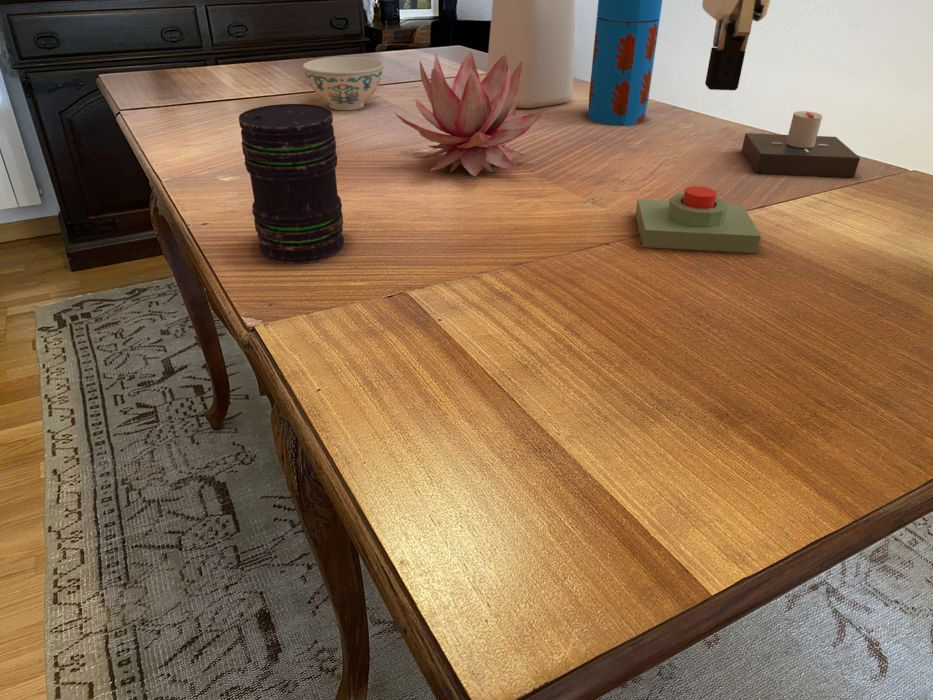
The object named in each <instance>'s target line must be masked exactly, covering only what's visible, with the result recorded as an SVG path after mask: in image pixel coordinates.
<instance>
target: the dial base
mask: <svg viewBox="0 0 933 700" xmlns="http://www.w3.org/2000/svg"><path fill="white" fill-rule="evenodd" d="M787 138H788V134H776V133H775V134H774V133H754V132H753V133H750V132H748V133H747V132H746V133H745V134H744V137H743V143H742V147H741V153H742V155H743V157H745V159H746V161H748V163H749V165H750V166H751V167H752V169H753V170H754V172H755V173H756V174H765V175H784V176H785V175H787V176H806V177H807V176H809V177H810V176H811V177H828V178H829V177H830V178H831V177H832V178H855V176H856V173H857V169H858V166H859V163H860V160H861V157H860V156H859V155H857V154H856V153H855V151H853V150H852V149H851V148H849V146H847V145H846V144H845V143H844V142H843V141H842V140H841V139H839V138H838V137H837V136H828V135H827V136H824V135H817V138H816V142H815V145H814V147H812V148H797V147H793V146H790V145H788V144H787V143H786V142H787Z"/></svg>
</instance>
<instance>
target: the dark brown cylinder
mask: <svg viewBox="0 0 933 700" xmlns="http://www.w3.org/2000/svg"><path fill="white" fill-rule="evenodd" d="M333 121H334V119H333V111H332V110H330V109H329V108H327V107H324V106H320V105H315V104H308V103H279V104H270V105H263V106H258V107H254V108H251V109H248V110H245V111H243V112H241V113H240V114H239V116H238V123H239V127H240V128H241V130H240V136H241V148H242V154H243V156H244V165H245V169H246V171H247V173H248V174H249V176H250V177H249V178H250V182H251V190H252V195H253V202H252V213H251V214H252V215H253V218H254V219H253V223H254V228H255V232H256V233H257V238H258V241H259V251H260V253H261V256H263V257H264V258H265V259H267V260H269V261H272V262H276V263H281V264H289V265H291V264H292V265H298V264H299V265H300V264H301V265H302V264H311V263H315V262H320V261H323V260H326V259H329V258H331V257H333V256H335V255H338V253H340V252H341V251H342V249H343V248H344V246H345V239H344V235H343V232H344V229H343V228H344V227H343V225H344V216H343V211H342V208H343V204H342V199H341V197H340V196H339V194H338V185H337V184H338V183H337V173H336V167H337V165H338V155H337V150H336V149H337V139H336V136H335V129H334V126H333V125H334V124H333Z"/></svg>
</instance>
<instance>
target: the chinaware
mask: <svg viewBox="0 0 933 700" xmlns="http://www.w3.org/2000/svg"><path fill="white" fill-rule="evenodd" d="M302 68H303V70H304V74H305V78H306V79H307V81H308V83H309V85H310V87H311V88H312V90H313V91H314V92H315V93H316V95H318V96H319V97H320V98H321V99H322V100H324V101H325V102H327V103H328V105H329V106H328V107H329V108H330V109H332V110H337V111H354V110H359V109H362V108H364V106H365V101H367V100H368V99H369V98H370V97H371V96H373V94H374V93H375V92H376V90H377V88H378V87H379V85H380V82H381V79H382V76H383V71H384V63H383V62H382V61H381V60H378V59H375V58H370V57H361V56H333V57H324V58H323V57H322V58H318V59H311V60H309V61H306V62H304V63H303V65H302Z"/></svg>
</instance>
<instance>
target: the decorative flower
mask: <svg viewBox="0 0 933 700" xmlns="http://www.w3.org/2000/svg"><path fill="white" fill-rule="evenodd" d="M433 63H434V64H433V68H432V69H431V74H430V79H429V77H428V76H427V73H426V71H425V69H424V66H423V64H422V62H421V61H420V60H419V71H420V80H421V83H422V85H423V88H424V91H425V94H426V96H427V98H428V101H429V103H430V105H431V110H430V109H428V108H427V107H426V106H425V105H423V104H422V103H421V102H420V101H419V100H418V99H417V98H413V99H414V102H415V105H416V107H417V109H418V111H419V113H420V114H421V115H422V116H423V118H424V119H425V120H426V121H427V122H429V123H430V124H431V125H432V126H433V127H435V128H436V129H438V130H439V131H441V132H443V133H441V132H437V131H433V130H430V129H427V128H424V127H422V126H420V125H417V124H415V123H414V122H411V121H408V120H407V119H405V118H403V117H402V116H400V115H399V114H398V113H396V112H394V115H395V116H397V117H398V119H399V120H401V122H402V123H403V124H405V125H407V126H408V127H410V128H413V129H414V130H416V131H418V133H419V135H420V137H422V138H424V139H426V140H427V141H430V142H432V143H437V144H436V145H430V144H427V147H430V148H432V149H433V150H434V149H438V150H437V151H435V152H434V151H433V152H430V153H427V154H424V155H419V156H412V159H421V160H423V159H424V160H426V159H430V158H433V157H435V156H440V155H442V154H443V155H442V156H441V158H440V159H439V160H438V162H437V163H436V164H435V165H434V166H433V167H432V168H431V169H430V170H429V171H431V172H432V171H436V170H442V169H443V170H444V168H447V167H448V166H449V165H451V166H450V171H449V173H451V172H453V171H454V170H456V169H457V168H458V167H459V166H460V165H462V166H463V167H464V168H465V170H466V171H467V172H468V173H469V174H470V175H471V176H474V177H476V176H478V175H479V173H480V172H481V170H483V168H485V169H486V170H488V171H490V172H491V173H492V172H493V170H492V169H493V168H492V165H494V166H496V167H498V168H502V169H509V170H516V169H517V167H516V166H515V164H514V163H513V162H512V161H511V159H510V158H512V159H515V158H522V157H524V158H525V157H528V155H526V154H525V153H522V152H520V151H517V150H515V149H512V148H510V147H507V146H506V144H507V143H510V142H512V141H514V140H515V139H517V138H519V137H521V136H523V135H524V134H526V133H527V132H528V131H529V130H530V128H531V127H532V126H534V125H535V124H536V123H537V122H538V121H539V120H540V119H541V118H542V117H543V116H544V115H545V113H546V112H547V109H546V108H545V109H542V110H539V111H536V112H533V113H530V114H527V115H523V116H519V117H515V118H514V116H515V115H516V109H517V107H516V105H517V101H518V98H517V97H516V95H517V92H518V88H519V83H520V79H521V71H522V61H521V62H520V64H519V65H518V67H517V68H516V69H515V71H514V72H513V74H512V75H511V76H510V69H508V63H507V56H506V55H503V56H502V57H501V58H500V59H499V60H498V61H497V62H496V64H495V65H494V66H493V67H492V69H491V70H490V71H489V73H488V74H487V73H486V74H487V75H486V74H485V76H484V78H483V79H482V80H481V79H480V75H479V71H478V68H477V64H476V61H475V57H474V55H473V51H469V52H467V54H466V56H465V57H464V59H463V61H462V63H461V64H460V66H459V69H458V71H457V73H456V75H455V78H454V80H453V82H452V83H453V84H452V88H451V87H450V84H448V81H447V79H446V77H445V74H444V71H443V69H442V65H441V63H440V59H439V58H438V54H437V53H436V54H435V55H434V62H433Z"/></svg>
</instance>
